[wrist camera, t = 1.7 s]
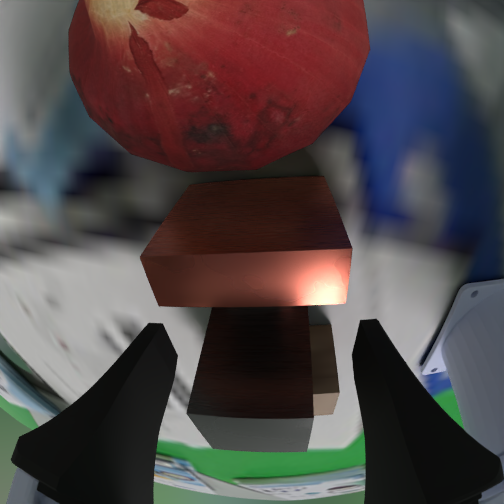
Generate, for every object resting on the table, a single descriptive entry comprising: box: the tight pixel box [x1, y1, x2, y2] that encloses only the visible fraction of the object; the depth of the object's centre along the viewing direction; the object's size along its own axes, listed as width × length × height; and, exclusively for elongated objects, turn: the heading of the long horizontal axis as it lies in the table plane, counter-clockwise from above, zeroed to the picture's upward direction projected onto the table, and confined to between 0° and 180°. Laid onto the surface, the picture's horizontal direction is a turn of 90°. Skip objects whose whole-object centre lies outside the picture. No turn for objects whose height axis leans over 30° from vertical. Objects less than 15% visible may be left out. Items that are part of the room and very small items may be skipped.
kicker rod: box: [140, 176, 352, 452], centre depth 12 cm, size 5×19×7 cm, turn 6°
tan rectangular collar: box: [309, 324, 340, 416], centre depth 13 cm, size 6×2×4 cm, turn 96°
